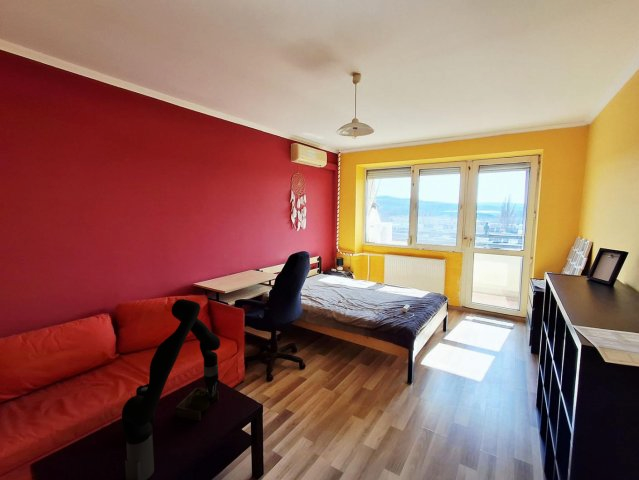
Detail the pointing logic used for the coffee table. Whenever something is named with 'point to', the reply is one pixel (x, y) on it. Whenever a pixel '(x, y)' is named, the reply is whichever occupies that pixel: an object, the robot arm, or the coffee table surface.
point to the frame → (190, 413)
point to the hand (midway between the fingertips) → (212, 401)
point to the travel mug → (141, 392)
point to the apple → (200, 401)
